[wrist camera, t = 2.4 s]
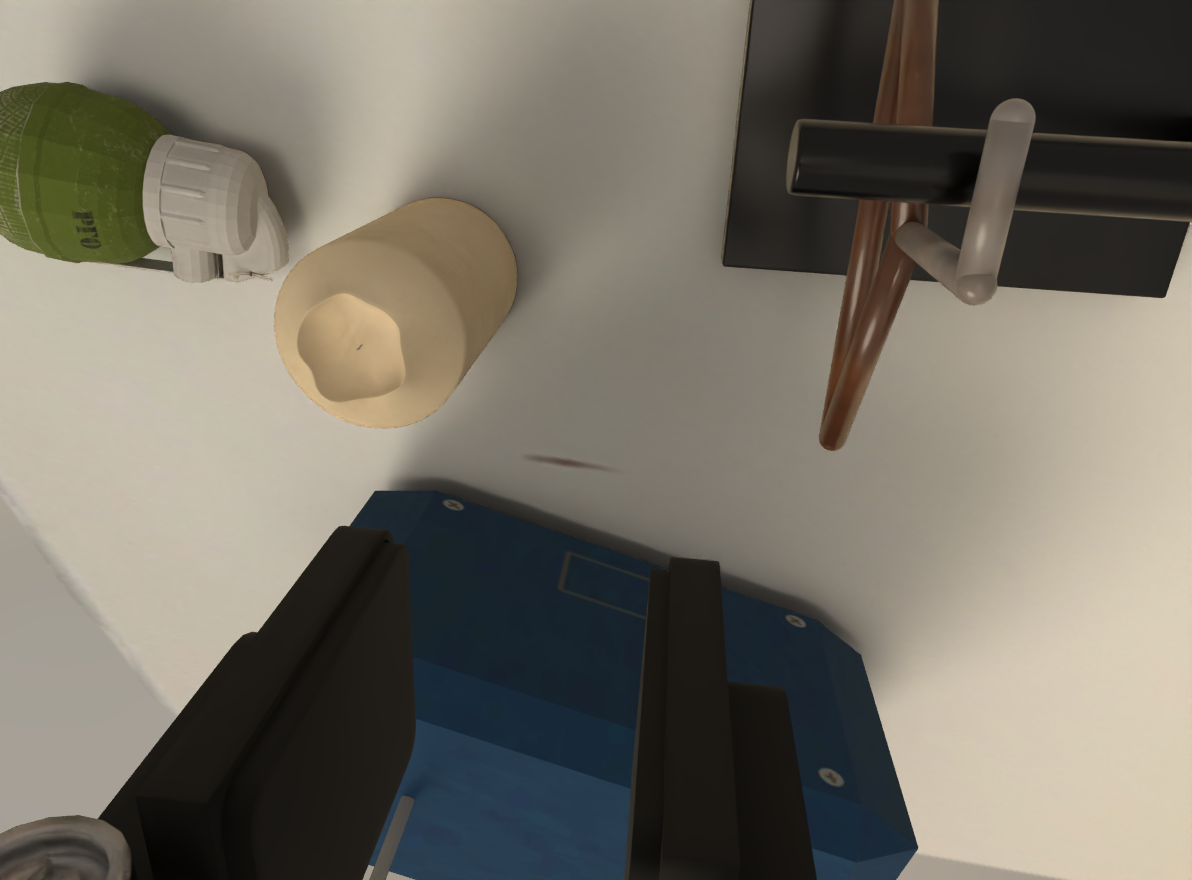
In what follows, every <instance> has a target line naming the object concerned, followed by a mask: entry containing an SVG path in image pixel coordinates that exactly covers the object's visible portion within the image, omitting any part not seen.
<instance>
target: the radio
mask: <svg viewBox="0 0 1192 880" xmlns="http://www.w3.org/2000/svg"><path fill="white" fill-rule="evenodd" d="M350 527H361V528H371V529H382V530H389V531H390V532H391V534H392V537H393V540H394V543H397V544H405V545H406V546H407V549H408V555H409V574H410V598H411V622H412V645H413V669H414V693H415V716H416V733H415V741H414V747H413V751H412V755H411V758H410V761H409V764H408V766H407V769H406V771H405V774H404V776H403V779H402V781H401V784H400V786H399V789H398V791H397V794H396V796H395V799H394V801H393V804H392V806H391V809H390V811H389V814H388V816H387V819H386V822H385V824H384V827H383V829H382V832H381V834H380V837H379V839H378V842H377V844H376V847H375V849H374V852H373V854H372V857H371V859H370V862H369V864H368V865H371V866H374V869H373V872H372V874H371V877H370V879H369V880H386V877H387V875H388V872H389V871H390V872H393V873H396V874H400V875H403V876H406V877H409V878H412V879H415V880H624V872H625V859H626V845H627V832H628V819H629V805H630V792H631V779H632V767H633V755H634V744H635V733H636V722H637V711H638V700H639V689H640V678H641V667H642V656H643V645H644V634H645V623H646V612H647V602H648V591H649V580H650V570H651V568H657V569H666V568H663V567H660V566H657V565H654V564H651V563H648V562H645V561H642V560H639V559H636V558H633V557H630V556H627V555H624V554H621V553H618V552H616V551H613V550H610V549H607V548H604V547H601V546H598V545H595V544H592V543H589V542H586V541H583V540H580V539H577V538H574V537H571V536H568V535H565V534H562V533H560V532H557V531H554V530H551V529H548V528H545V527H542V526H539V525H536V524H533V523H530V522H527V521H524V520H521V519H518V518H515V517H512V516H509V515H506V514H504V513H501V512H498V511H495V510H492V509H489V508H486V507H483V506H480V505H477V504H474V503H471V502H468V501H465V500H462V499H459V498H456V497H453V496H450V495H448V494H445V493H442V492H439V491H375V492H374V493H373V495H372V496H371V497H370V499H369V500H368V501H367V503H366V504H365V506H364V507H363V508H362V510H361V511H360V512H359V514H358V515H357V517H356V518H355V519H354V521H353V522H352V523H351V525H350ZM668 570H669V569H668ZM721 592H722V607H723V621H724V636H725V650H726V664H727V679H728V681H729V682H738V683H748V684H757V685H767V686H777V687H783V688H784V690H785V691H786V695H787V699H788V704H789V710H790V716H791V722H792V728H793V735H794V741H795V747H796V753H797V759H798V765H799V772H800V778H801V784H802V790H803V796H804V802H805V808H806V815H807V821H808V827H809V833H810V839H811V845H812V852H813V858H814V864H815V870H816V876H817V880H896V879H897V878H898V876H899V875H900V873H901V872H902V871H903V869H904V868H905V866H906V865H907V864H908V862H909V861H910V859H911V858H912V856H913V855H914V854H915V852H916V851H917V849H918V845H917V842H916V838H915V835H914V832H913V828H912V825H911V822H910V818H909V815H908V812H907V808H906V805H905V801H904V798H903V795H902V791H901V788H900V785H899V781H898V778H897V775H896V771H895V768H894V765H893V761H892V758H891V755H890V751H889V748H888V744H887V741H886V738H885V734H884V731H883V728H882V724H881V721H880V718H879V714H878V711H877V708H876V704H875V701H874V697H873V694H872V691H871V687H870V684H869V681H868V677H867V674H866V671H865V667H864V664H863V661H862V657H861V655H860V654H859V653H858V652H856V651H855V650H854V649H853V648H851V647H850V646H849V645H848V644H846V643H845V642H844V641H843V640H842V639H840V638H839V637H838V636H837V635H835V634H834V633H833V632H832V631H830V630H829V629H828V628H827V627H826V626H824V625H823V624H822V623H821V622H819V621H818V620H816V619H813V618H810V617H807V616H804V615H801V614H798V613H795V612H792V611H789V610H786V609H783V608H781V607H778V606H775V605H772V604H769V603H766V602H763V601H760V600H757V599H754V598H751V597H748V596H745V595H742V594H739V593H736V592H733V591H730V590H727V589H725V588H722V587H721Z"/></svg>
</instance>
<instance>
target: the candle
mask: <svg viewBox="0 0 1192 880" xmlns="http://www.w3.org/2000/svg"><path fill="white" fill-rule="evenodd" d="M516 287H517V267H516V261H515V257H514V254H513V251H512V248H511V246H510V244H509V242H508V240H507V238H506V236H505V235H504V233H503V232H502V231H501V229H500V228H499V227H498V225H497V224H496V223H495V222H494V221H493V220H492V219H491V218H489V217H488V216H487V215H486V214H485V213H483V212H482V211H480V210H479V209H477V208H475V207H473V206H471V205H469V204H467V203H464V202H461V201H458V200H453V199H447V198H429V199H423V200H419V201H415V202H413V203H410V204H408V205H405V206H403V207H400V208H398V209H396V210H394V211H392V212H390V213H388V214H386V215H384V216H382V217H380V218H378V219H376V220H374V221H372V222H370V223H368V224H366V225H364V226H362V227H360V228H358V229H356V230H354V231H352V232H350V233H348V234H346V235H344V236H342V237H340V238H338V239H336V240H334V241H332V242H330V243H328V244H326V245H324V246H322V247H320V248H318V249H316V250H315V251H313V252H311V253H309V254H308V255H307V256H305V257H304V258H303V259H302V260H300V261H299V262H298V263H297V264H296V265H295V267H294V268H293V269H292V270H291V271H290V273H289V274H288V276H287V277H286V279H285V280H284V282H283V285H282V287H281V289H280V291H279V295H278V298H277V301H276V307H275V314H274V328H275V336H276V342H277V345H278V349H279V353H280V355H281V358H282V360H283V363H284V365H285V367H286V368H287V370H288V372H289V374H290V376H291V377H292V378H293V380H294V381H295V383H296V384H297V386H298V387H299V388H300V389H301V390H302V391H303V392H304V394H305V395H306V396H307V397H309V398H310V399H311V400H312V401H313V402H314V403H315V404H317V405H318V406H319V407H321V408H322V409H323V410H325V411H326V412H328V413H330V414H332V415H333V416H335V417H337V418H339V419H342V420H344V421H346V422H349V423H352V424H355V425H359V426H364V427H369V428H382V429H385V428H397V427H402V426H407V425H409V424H412V423H415V422H418V421H420V420H422V419H424V418H426V417H428V416H429V415H431V414H432V413H433V412H435V411H436V410H437V409H438V408H440V407H441V406H442V405H443V404H444V403H445V402H446V400H447V399H448V398H449V397H450V395H451V394H452V393H453V391H454V390H455V389H456V387H457V386H458V384H459V383H460V382H461V380H462V379H463V377H464V376H465V375H466V373H467V372H468V370H469V369H470V368H471V366H472V365H473V363H474V362H475V361H476V359H477V358H478V356H479V355H480V354H481V352H482V351H483V349H484V348H485V347H486V345H487V344H488V342H489V341H490V339H491V338H492V337H493V335H494V334H495V332H496V331H497V330H498V328H499V327H500V325H501V324H502V322H503V321H504V319H505V318H506V316H507V314H508V312H509V311H510V309H511V306H512V304H513V301H514V298H515V294H516Z"/></svg>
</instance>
